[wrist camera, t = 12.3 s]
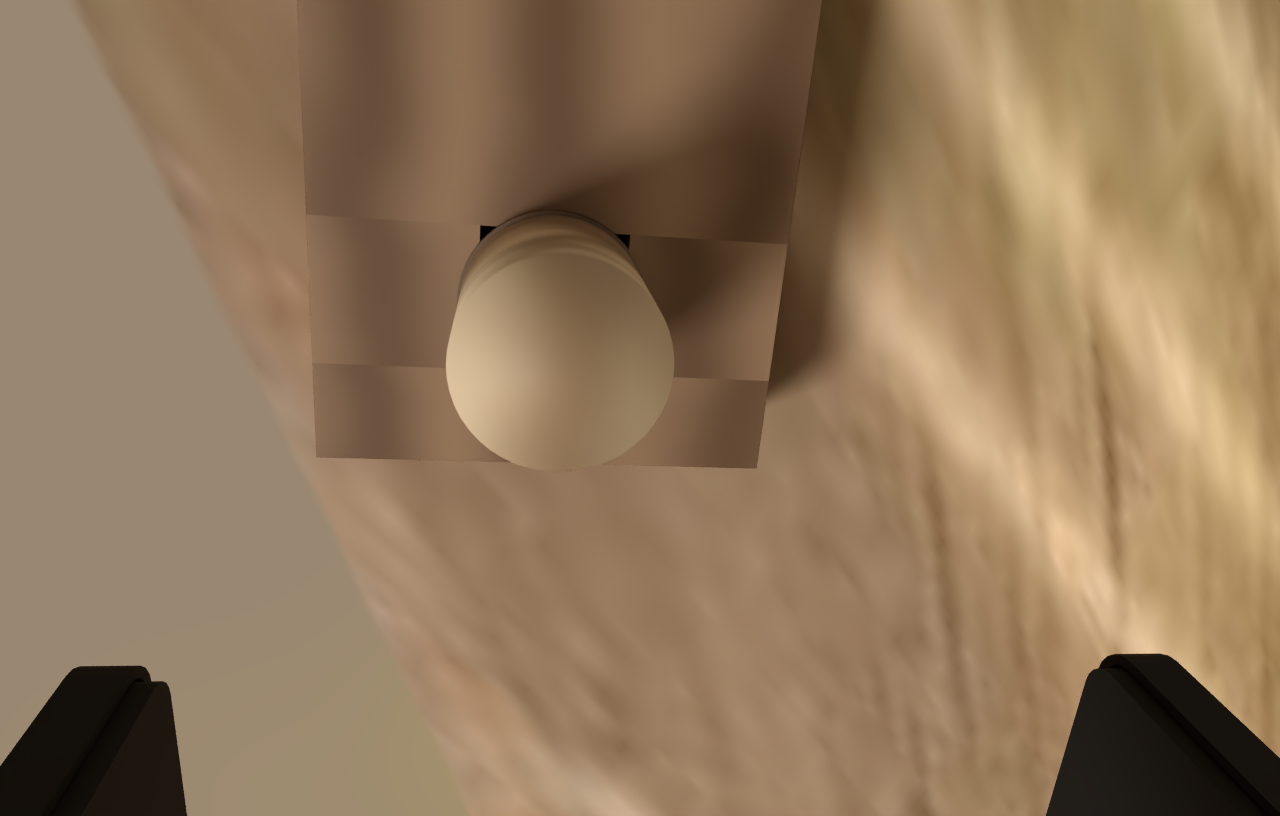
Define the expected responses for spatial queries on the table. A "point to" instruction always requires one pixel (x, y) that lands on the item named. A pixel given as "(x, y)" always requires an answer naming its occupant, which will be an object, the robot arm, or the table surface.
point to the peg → (557, 344)
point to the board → (547, 193)
